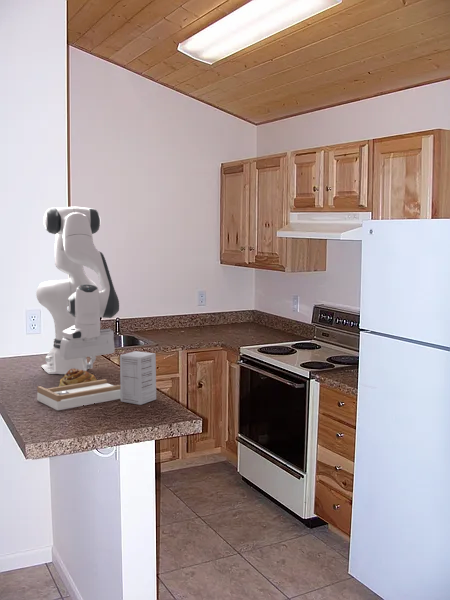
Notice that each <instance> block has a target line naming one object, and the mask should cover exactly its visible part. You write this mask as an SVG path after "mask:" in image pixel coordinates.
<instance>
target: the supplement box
mask: <svg viewBox="0 0 450 600" xmlns="http://www.w3.org/2000/svg"><path fill="white" fill-rule="evenodd" d="M156 354H157V353H153V352H146V351H139V350H138V351H137V350H135V351H131V352H127V353H123V354H120V355H119V370H120V371H119V373H120V374H119V376H120V381H119V382H120V383H119V385H120V390H121V399H120V402H124V403H128V404H134V405H139V406H142V405H144V404H147V403H149V402H152V401H155V400H157V360H156V359H157V358H156V356H157V355H156Z"/></svg>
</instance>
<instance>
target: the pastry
mask: <svg viewBox="0 0 450 600" xmlns="http://www.w3.org/2000/svg"><path fill="white" fill-rule="evenodd" d="M63 375H64V376H63V377H61V378H60V380H59V385H58V387H60V386H66V385H72V384H78V383H84V382H90V381H97V380H98V379H97V378H96V376H95V375H94V374H92V373H91V372H88V370H86V371H83V370H79V369H75V368H72V369H70V370H69V371H68V372H67V373H66V374H63Z"/></svg>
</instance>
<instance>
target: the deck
mask: <svg viewBox="0 0 450 600" xmlns="http://www.w3.org/2000/svg"><path fill="white" fill-rule="evenodd" d="M36 390H37V391H36V392H37V393H36V395H37V401H38V402H40V403H42V404H43V405H46V406H48V407H50V408H52V409H54V410H55V411H61V410H68V409H73V408H77V407H78V408H79V407H84V406H87V405H89V406H90V405H94V403H95V404H100V403H104V402H110V401H115V400H121V390H120V384H118V385H114V384H110V383H108V379H105V378H103V379H97V381H90V382H84V383H78V384H72V385H66V386H60V387H59V386H55V387H49V388H45V387H43V386H41V385H39V386H37V387H36ZM62 391H67V392H69V394H63V395H59V394H60V393H61V392H62ZM83 405H84V406H83Z"/></svg>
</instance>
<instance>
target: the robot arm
mask: <svg viewBox="0 0 450 600" xmlns="http://www.w3.org/2000/svg"><path fill="white" fill-rule="evenodd" d="M101 223H102V222H101V216H100V213H99V210H97V209H96V208H92V207H81V206H67V207H66V206H64V207H56V206H55V207H49V208H48V209H46V210H45V213H44V216H43V225H44V227H45V230H46V231H47V233H49V234H52V235H55V239H54V240H55V241H54V242H55V243H54V265H55V267H56V269H57V270H59V271H61V272H62V273H65V274H67V275H68V279H59V280H57V279H55V280H48V281H43V282H40V283H39V285H38V286H37V288H36V291H35V292H36V293H35V294H36V295H35V296H36V299H37V301H38V303H39V304H40V305H41V306H43V307H44V308H45V309H47V310H48V312H49V313H50V314H51V317H52V319H53V323H54V330H55V331H54V334H55V335H54V336H55V338H54V339H53V348H52V349H50V351H49V352H48V353H46V354H47V355H46V356H45V358H44V360H45V362H46V363H45V364H41V367H42V368H43V369H44V372H46V373H47V374H49V375H65V374H66V373H67V372H68V371H69V370H70V369H72V368H75V369H79V370H83V371H88V370H89V369H93V368H94V367H93V366H94V362H95V361H96V359H97V356H102V355H110V354H113V353H114V352H115V351H116V350H115V348H116V347H115V339H114V335H115V333H114V330H113V329H111V328H109V327H108V328H101V319H100V318H104V319H106V318H107V319H112V318H113V317H114V316H116V315H117V314H118V312H119V311H120V300H119V297H118V294H117V291H116V290H115V286H114V283H113V279H112V276H111V274H110V270H109V267H108V264H107V261H106V258H105V256H104V254H103V252H101V251H99V250H98V249H97V247H96V246H95V244H94V239H93V234H96V233H98V231H99V230H100V227H101ZM84 267H86V268H89V269H90V270H92V271H93V272H95V273H96V275H97V278H98V281H99V284H100V287H101V290H100V291H99V287H98V285H97V284H96V282H95V281H94V280H92V279H91V278H90V277H89V276H88V275H87V273H86V271H85V269H84ZM87 358H89V361H88V359H87ZM41 367H40V368H41ZM42 368H41V369H42ZM43 369H42V370H43Z"/></svg>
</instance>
